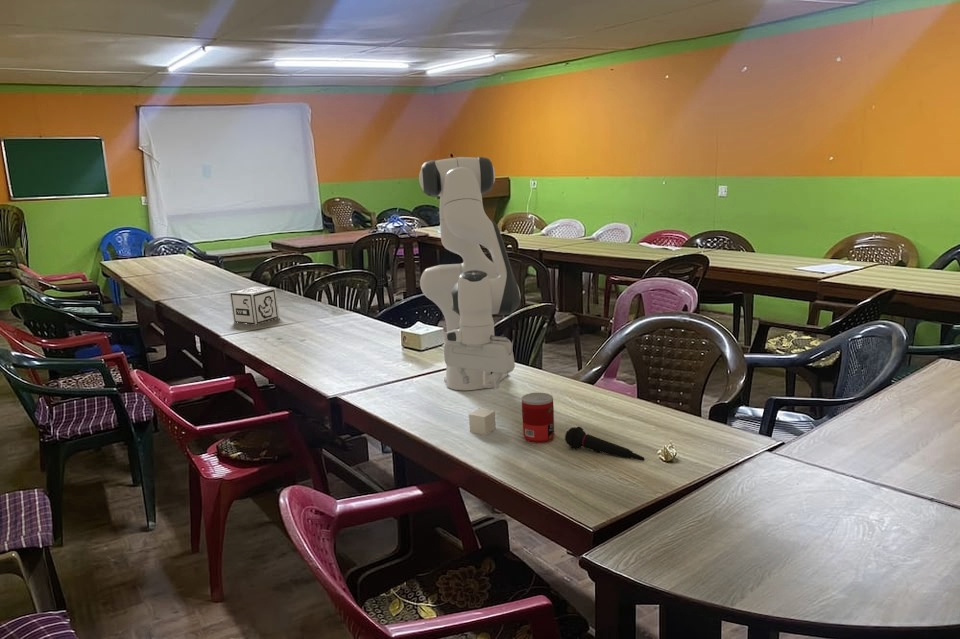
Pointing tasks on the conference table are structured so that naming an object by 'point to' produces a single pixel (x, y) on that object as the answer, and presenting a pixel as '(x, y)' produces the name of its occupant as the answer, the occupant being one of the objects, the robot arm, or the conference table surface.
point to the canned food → (538, 417)
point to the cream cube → (482, 421)
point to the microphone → (596, 444)
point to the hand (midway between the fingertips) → (480, 385)
